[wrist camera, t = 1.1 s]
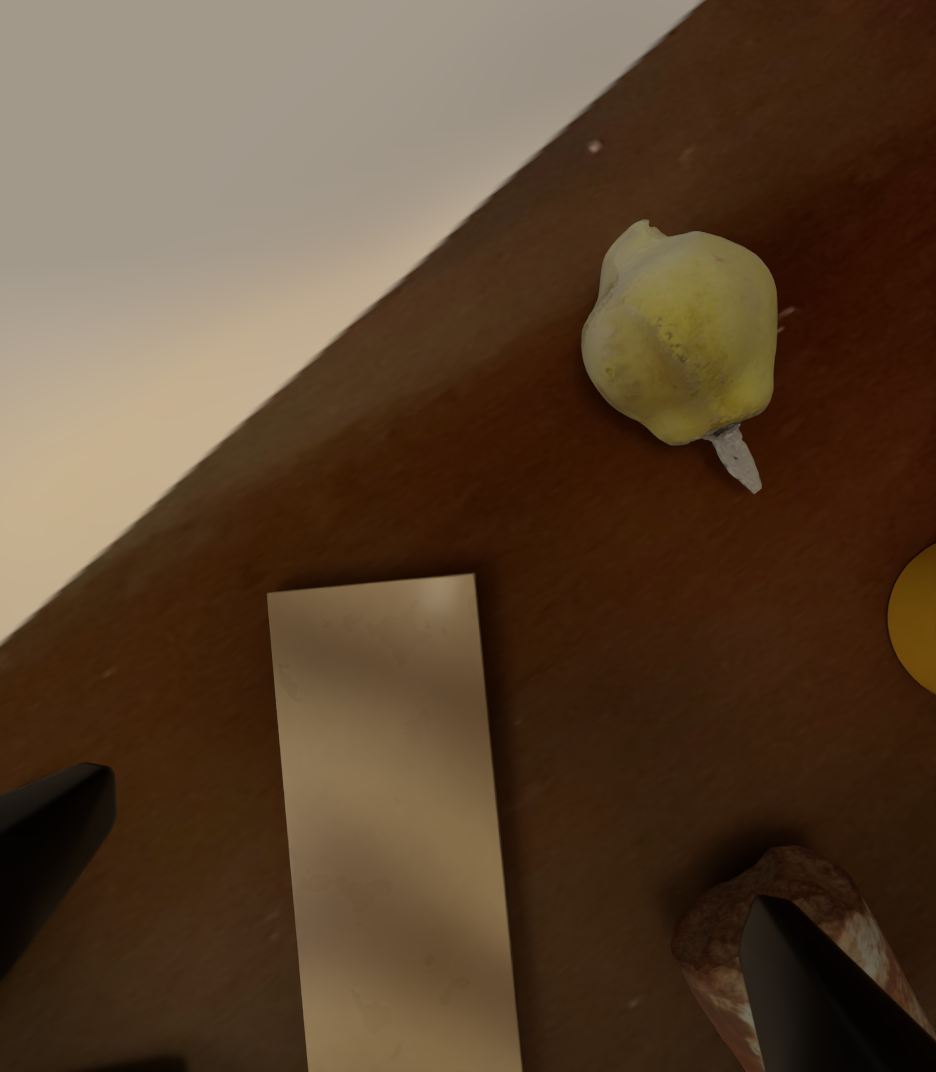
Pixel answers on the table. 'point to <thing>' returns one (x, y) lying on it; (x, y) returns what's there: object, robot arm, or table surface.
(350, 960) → the serving board
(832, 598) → the table surface
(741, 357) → the fruit
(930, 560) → the snack tube
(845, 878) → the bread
